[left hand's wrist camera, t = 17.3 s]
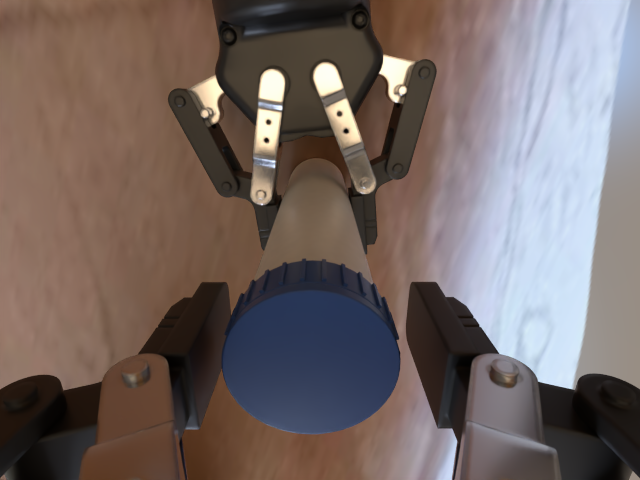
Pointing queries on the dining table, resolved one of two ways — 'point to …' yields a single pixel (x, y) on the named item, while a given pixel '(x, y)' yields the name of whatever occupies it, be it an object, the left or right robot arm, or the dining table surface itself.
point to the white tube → (315, 222)
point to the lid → (311, 348)
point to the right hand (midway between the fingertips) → (321, 252)
